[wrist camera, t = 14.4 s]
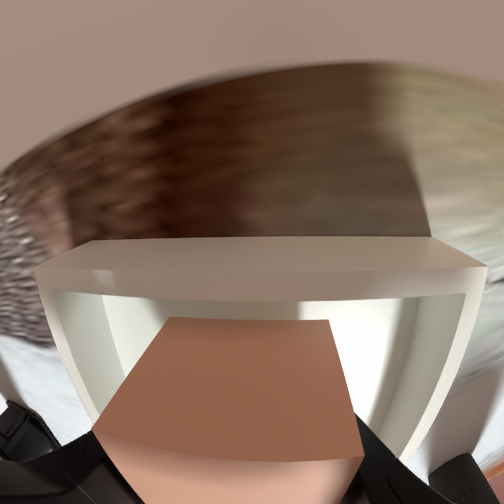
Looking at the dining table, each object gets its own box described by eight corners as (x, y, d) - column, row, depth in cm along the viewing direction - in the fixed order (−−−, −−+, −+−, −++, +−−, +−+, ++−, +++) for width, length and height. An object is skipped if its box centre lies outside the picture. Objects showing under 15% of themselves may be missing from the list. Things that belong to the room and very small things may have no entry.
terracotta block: (314, 423, 10) (321, 530, 5) (191, 418, 10) (157, 516, 5) (328, 319, 8) (364, 455, 3) (169, 316, 9) (91, 428, 4)
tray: (360, 474, 15) (366, 515, 11) (165, 467, 16) (150, 505, 13) (432, 236, 10) (488, 266, 6) (91, 240, 12) (33, 267, 8)
